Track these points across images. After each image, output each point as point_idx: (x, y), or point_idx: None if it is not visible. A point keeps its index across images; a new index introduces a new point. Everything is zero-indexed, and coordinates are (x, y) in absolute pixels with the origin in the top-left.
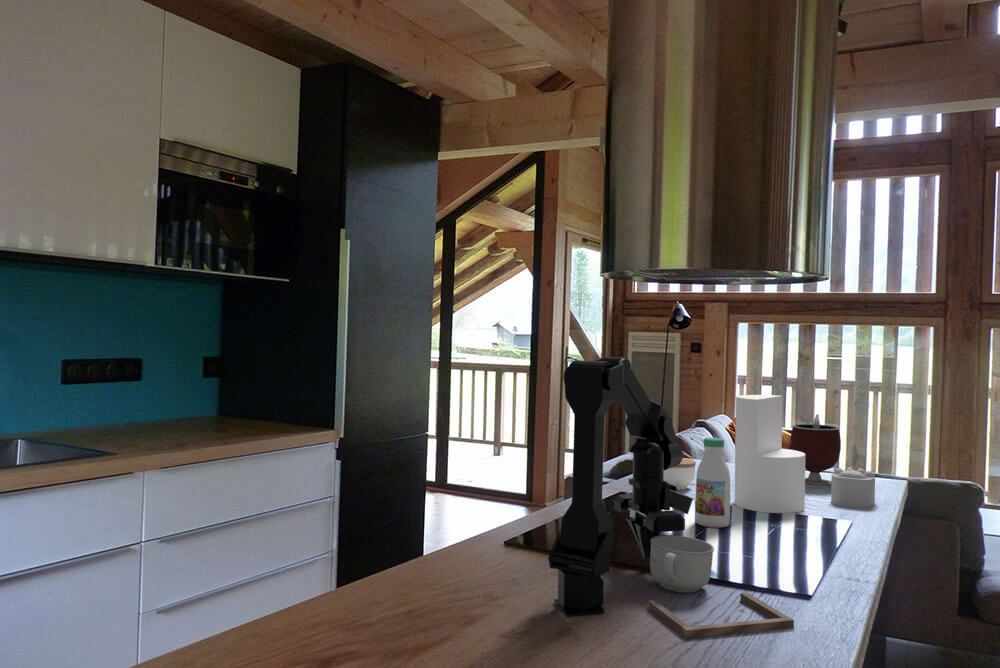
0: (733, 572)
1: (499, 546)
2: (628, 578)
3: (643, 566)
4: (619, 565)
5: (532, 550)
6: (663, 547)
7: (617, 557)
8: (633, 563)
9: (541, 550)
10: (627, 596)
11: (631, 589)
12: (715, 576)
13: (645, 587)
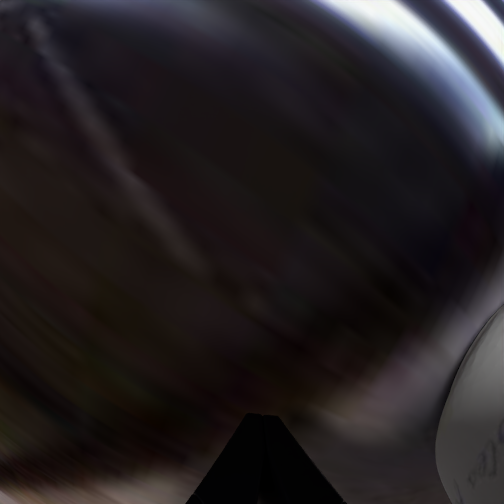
0: (464, 5)
1: (2, 494)
2: (333, 482)
3: (210, 373)
4: (162, 445)
5: (13, 484)
6: (496, 489)
7: (49, 380)
8: (145, 384)
9: (9, 474)
10: (435, 499)
11: (413, 490)
12: (498, 117)
13: (432, 460)
